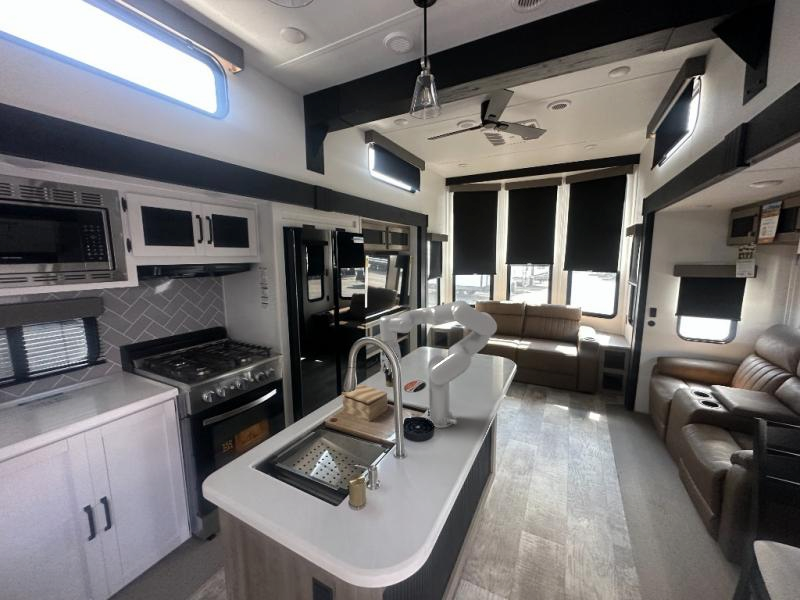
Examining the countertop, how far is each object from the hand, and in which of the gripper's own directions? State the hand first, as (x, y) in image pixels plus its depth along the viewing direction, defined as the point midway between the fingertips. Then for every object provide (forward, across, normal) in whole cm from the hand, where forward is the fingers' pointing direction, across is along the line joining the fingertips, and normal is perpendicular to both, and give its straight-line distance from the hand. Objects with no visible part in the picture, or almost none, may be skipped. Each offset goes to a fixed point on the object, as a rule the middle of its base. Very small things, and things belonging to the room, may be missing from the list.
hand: (392, 379), depth 145 cm
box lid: (+12, 0, +19) cm, 22 cm away
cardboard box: (+21, 0, +19) cm, 28 cm away
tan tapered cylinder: (+3, 0, 0) cm, 3 cm away
